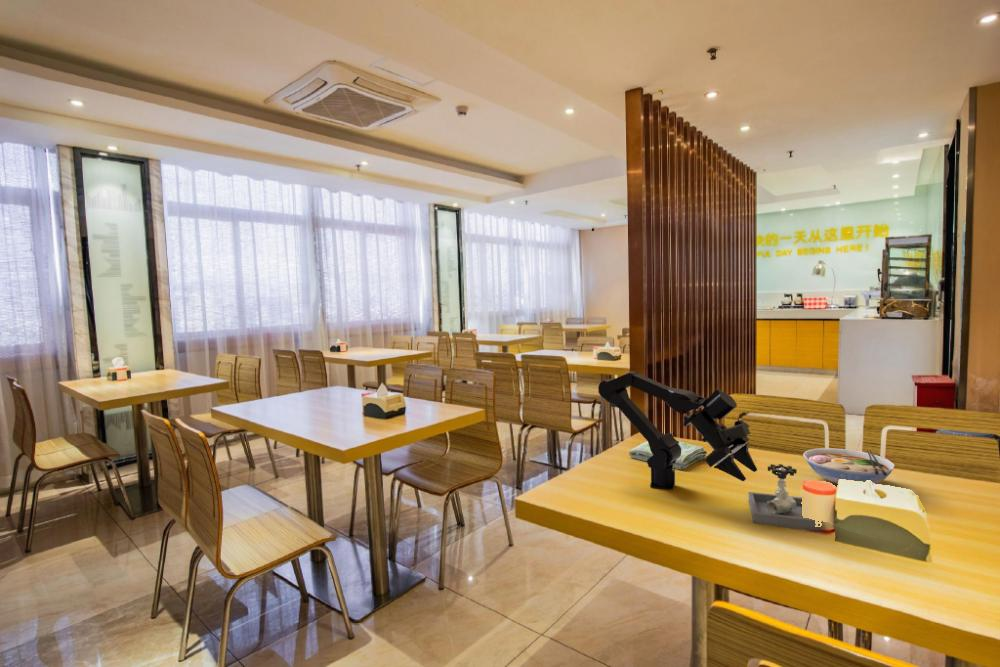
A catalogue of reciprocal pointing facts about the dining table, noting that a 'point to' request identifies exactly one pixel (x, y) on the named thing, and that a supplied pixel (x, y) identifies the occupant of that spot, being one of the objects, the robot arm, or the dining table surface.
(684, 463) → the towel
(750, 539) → the dining table surface
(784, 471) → the valve
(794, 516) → the parts tray
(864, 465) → the ramen bowl
